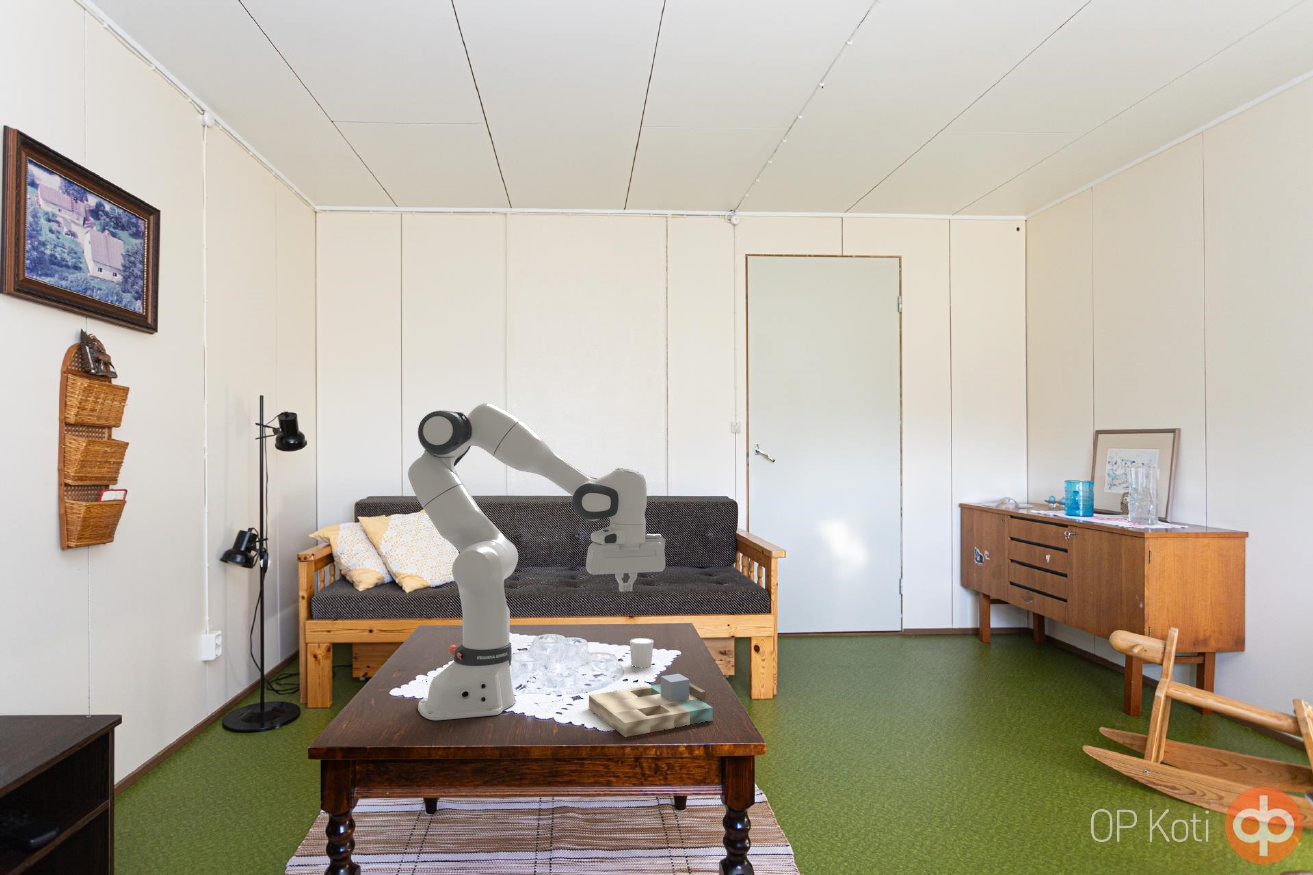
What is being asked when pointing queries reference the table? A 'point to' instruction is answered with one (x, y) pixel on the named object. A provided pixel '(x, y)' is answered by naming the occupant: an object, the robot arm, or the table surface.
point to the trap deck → (650, 709)
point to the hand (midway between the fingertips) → (625, 590)
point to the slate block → (675, 687)
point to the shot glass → (641, 652)
